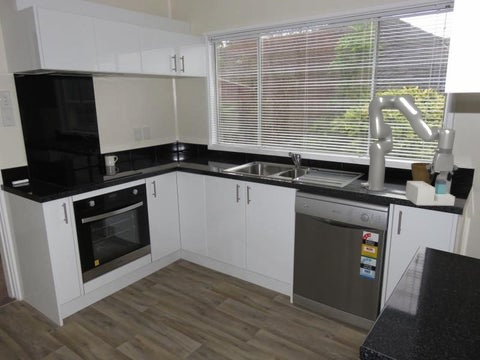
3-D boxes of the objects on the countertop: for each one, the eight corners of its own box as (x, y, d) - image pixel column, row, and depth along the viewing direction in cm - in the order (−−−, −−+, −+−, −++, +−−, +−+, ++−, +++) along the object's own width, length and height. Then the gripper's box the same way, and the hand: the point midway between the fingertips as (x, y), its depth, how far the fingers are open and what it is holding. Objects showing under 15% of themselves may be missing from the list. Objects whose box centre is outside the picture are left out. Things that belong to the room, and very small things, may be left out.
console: (416, 205, 193) (418, 188, 191) (405, 197, 209) (407, 181, 206) (453, 205, 192) (456, 188, 189) (439, 197, 207) (441, 181, 205)
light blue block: (436, 199, 198) (439, 181, 195) (433, 197, 201) (435, 179, 199) (444, 199, 197) (446, 181, 195) (440, 197, 201) (442, 179, 199)
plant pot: (421, 184, 237) (423, 161, 233) (439, 189, 223) (442, 165, 219) (403, 186, 232) (405, 163, 229) (421, 192, 219) (423, 167, 215)
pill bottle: (445, 197, 207) (448, 172, 204) (432, 194, 214) (434, 170, 210) (451, 194, 212) (454, 170, 208) (438, 192, 218) (441, 168, 215)
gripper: (431, 152, 190) (427, 182, 194) (464, 152, 189) (458, 182, 193) (425, 149, 197) (421, 178, 202) (456, 150, 196) (452, 179, 200)
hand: (439, 180), depth 197 cm, fingers open, 9 cm apart
